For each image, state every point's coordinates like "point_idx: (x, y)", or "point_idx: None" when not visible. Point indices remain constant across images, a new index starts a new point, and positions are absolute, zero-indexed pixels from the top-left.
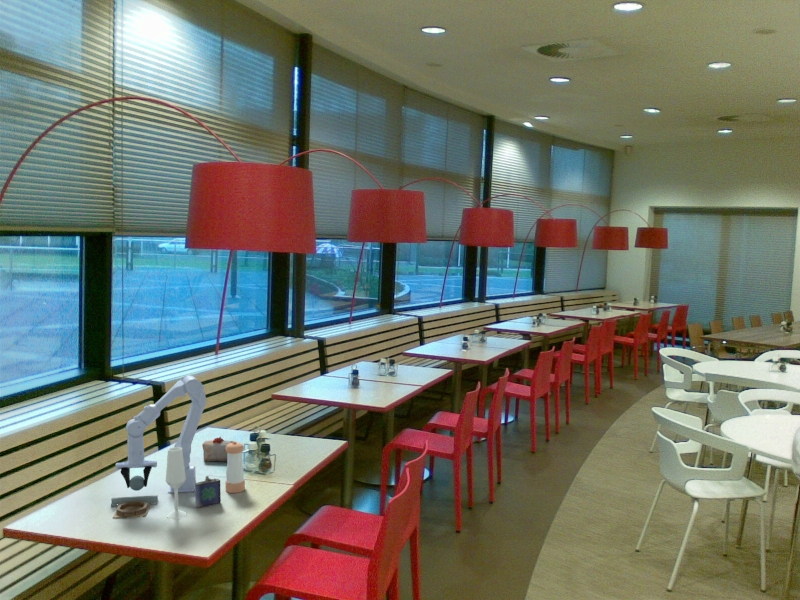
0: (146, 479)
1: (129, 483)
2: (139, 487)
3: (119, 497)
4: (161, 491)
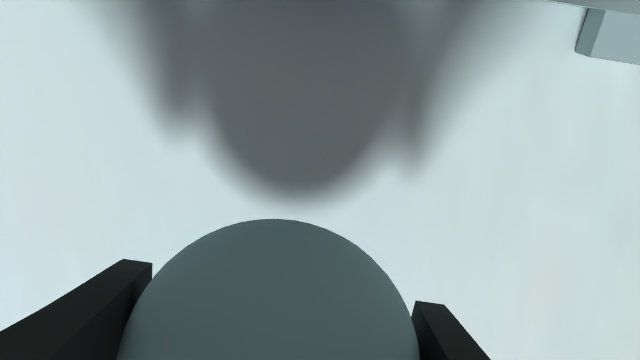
0: (13, 330)
1: (419, 354)
2: (227, 227)
3: (598, 3)
4: (14, 299)
